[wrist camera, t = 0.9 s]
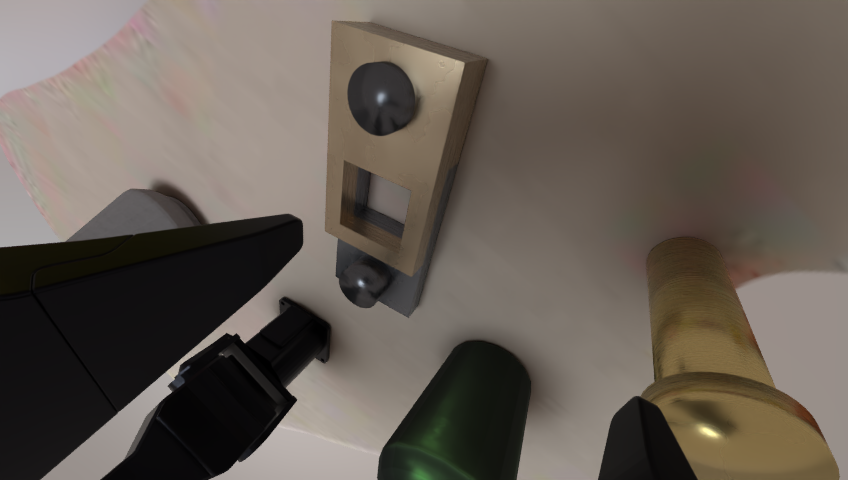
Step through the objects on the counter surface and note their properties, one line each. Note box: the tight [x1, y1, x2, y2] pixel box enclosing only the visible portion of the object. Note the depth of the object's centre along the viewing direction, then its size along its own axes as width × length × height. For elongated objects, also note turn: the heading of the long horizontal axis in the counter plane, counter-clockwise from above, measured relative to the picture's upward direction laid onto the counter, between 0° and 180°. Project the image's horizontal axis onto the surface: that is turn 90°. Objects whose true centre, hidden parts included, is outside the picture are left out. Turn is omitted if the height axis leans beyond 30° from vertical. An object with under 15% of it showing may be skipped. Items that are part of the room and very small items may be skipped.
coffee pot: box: [66, 189, 200, 242], centre depth 37 cm, size 21×12×15 cm, turn 119°
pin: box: [640, 237, 840, 480], centre depth 13 cm, size 4×4×10 cm
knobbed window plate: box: [325, 21, 488, 318], centre depth 21 cm, size 18×7×4 cm, turn 166°
